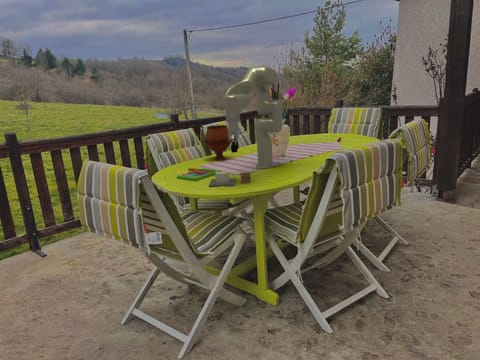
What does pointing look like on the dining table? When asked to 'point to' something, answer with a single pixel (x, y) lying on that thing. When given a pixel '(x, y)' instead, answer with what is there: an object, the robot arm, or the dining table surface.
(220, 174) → the cream brick
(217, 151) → the goblet
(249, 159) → the dining table surface
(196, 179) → the jigsaw puzzle tray
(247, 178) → the walnut cube
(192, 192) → the dining table surface
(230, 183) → the base plate
